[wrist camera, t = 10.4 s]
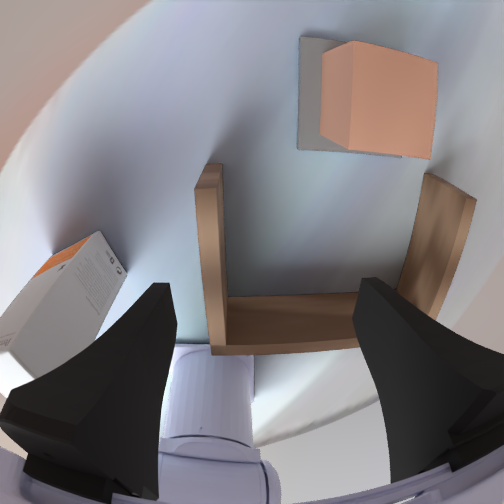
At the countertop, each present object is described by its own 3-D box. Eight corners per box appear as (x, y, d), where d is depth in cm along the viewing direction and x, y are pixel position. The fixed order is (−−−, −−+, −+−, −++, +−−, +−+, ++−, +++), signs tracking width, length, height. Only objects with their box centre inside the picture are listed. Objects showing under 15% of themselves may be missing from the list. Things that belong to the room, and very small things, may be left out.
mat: (397, 156, 18) (401, 158, 17) (296, 148, 17) (298, 149, 17) (403, 56, 14) (408, 56, 14) (299, 38, 14) (300, 36, 13)
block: (386, 141, 16) (430, 159, 12) (319, 134, 16) (348, 149, 12) (391, 66, 14) (438, 62, 10) (322, 53, 14) (353, 40, 9)
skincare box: (100, 226, 19) (8, 349, 9) (129, 274, 21) (70, 409, 11) (49, 254, 20) (-32, 361, 10) (76, 295, 22) (16, 408, 12)
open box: (403, 297, 24) (427, 336, 19) (215, 307, 23) (211, 355, 19) (434, 174, 18) (476, 199, 14) (205, 164, 18) (194, 188, 13)
